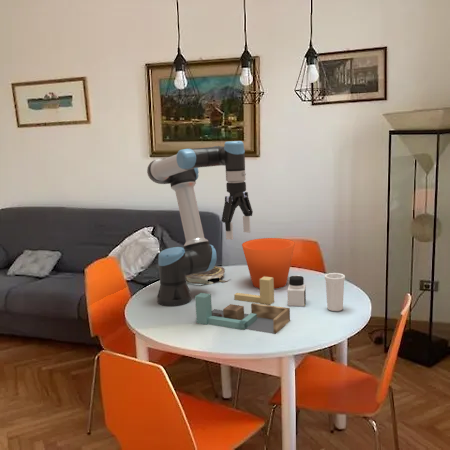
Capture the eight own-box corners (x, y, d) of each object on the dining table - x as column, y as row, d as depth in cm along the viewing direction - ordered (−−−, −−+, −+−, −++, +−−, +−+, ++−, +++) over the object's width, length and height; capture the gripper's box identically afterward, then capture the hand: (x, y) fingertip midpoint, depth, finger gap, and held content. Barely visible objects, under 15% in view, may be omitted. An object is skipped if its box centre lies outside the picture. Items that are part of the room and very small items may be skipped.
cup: (332, 304, 222) (332, 271, 219) (349, 308, 217) (349, 275, 214) (321, 309, 217) (320, 276, 214) (337, 314, 211) (337, 279, 208)
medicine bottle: (304, 306, 221) (304, 278, 219) (287, 306, 223) (287, 278, 221) (305, 300, 228) (305, 274, 226) (289, 300, 230) (288, 273, 227)
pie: (167, 281, 268) (166, 271, 267) (202, 268, 289) (202, 259, 288) (208, 290, 251) (208, 280, 250) (243, 276, 271) (243, 266, 271)
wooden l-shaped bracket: (238, 327, 202) (237, 314, 201) (252, 316, 213) (252, 303, 212) (276, 334, 194) (276, 319, 193) (290, 321, 206) (289, 308, 205)
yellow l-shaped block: (274, 301, 229) (273, 277, 227) (269, 305, 225) (269, 280, 223) (238, 297, 237) (237, 273, 235) (233, 300, 233) (232, 276, 231)
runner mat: (196, 322, 210) (196, 321, 210) (214, 310, 222) (214, 309, 222) (275, 335, 194) (275, 333, 194) (290, 321, 206) (290, 320, 206)
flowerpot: (296, 276, 264) (295, 237, 261) (295, 292, 240) (294, 249, 236) (246, 276, 268) (244, 238, 264) (240, 292, 244) (239, 250, 240)
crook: (196, 323, 208) (195, 296, 206) (211, 312, 218) (210, 287, 216) (243, 330, 198) (242, 302, 196) (256, 319, 208) (255, 293, 206)
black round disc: (204, 318, 213) (204, 317, 213) (211, 313, 218) (211, 312, 218) (217, 320, 210) (217, 319, 210) (224, 315, 216) (224, 314, 215)
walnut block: (223, 321, 208) (223, 309, 208) (230, 315, 214) (230, 304, 213) (237, 323, 206) (236, 311, 205) (244, 317, 211) (243, 306, 210)
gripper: (227, 185, 191) (230, 243, 195) (259, 178, 212) (261, 230, 216) (210, 185, 195) (213, 241, 199) (243, 178, 216) (245, 229, 220)
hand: (238, 235), depth 208 cm, fingers open, 13 cm apart
